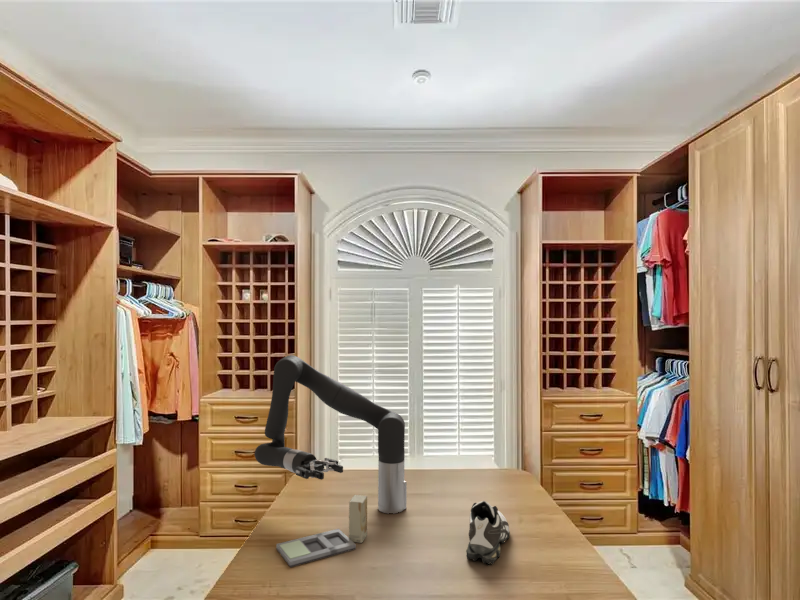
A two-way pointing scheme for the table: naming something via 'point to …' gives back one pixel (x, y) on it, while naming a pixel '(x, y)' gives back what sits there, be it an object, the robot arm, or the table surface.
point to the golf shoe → (486, 532)
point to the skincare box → (358, 518)
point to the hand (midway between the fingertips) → (333, 472)
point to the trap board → (315, 547)
